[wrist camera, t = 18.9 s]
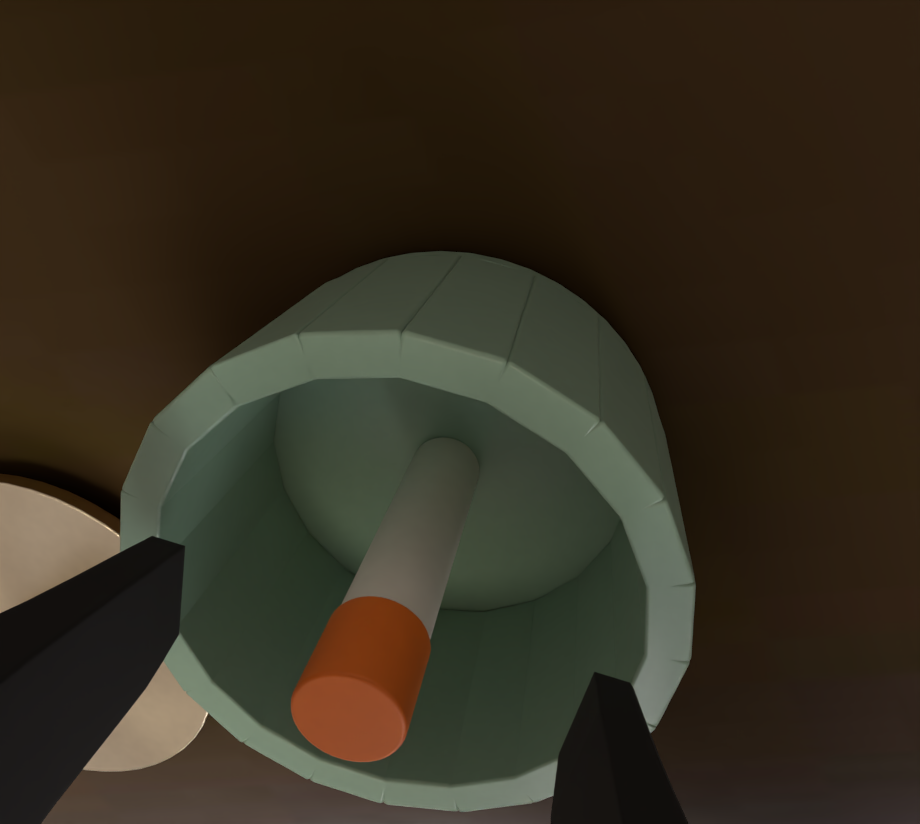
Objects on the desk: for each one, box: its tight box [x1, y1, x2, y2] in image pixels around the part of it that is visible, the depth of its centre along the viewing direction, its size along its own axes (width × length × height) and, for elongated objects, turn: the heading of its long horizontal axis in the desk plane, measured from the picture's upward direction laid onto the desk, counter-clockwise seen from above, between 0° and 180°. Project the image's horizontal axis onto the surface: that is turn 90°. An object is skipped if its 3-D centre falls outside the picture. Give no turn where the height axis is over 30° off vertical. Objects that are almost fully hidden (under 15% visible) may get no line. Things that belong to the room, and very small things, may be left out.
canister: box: [120, 251, 696, 812], centre depth 16 cm, size 11×11×6 cm
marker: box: [291, 437, 479, 762], centre depth 14 cm, size 2×2×8 cm
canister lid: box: [0, 474, 210, 772], centre depth 21 cm, size 12×12×4 cm
